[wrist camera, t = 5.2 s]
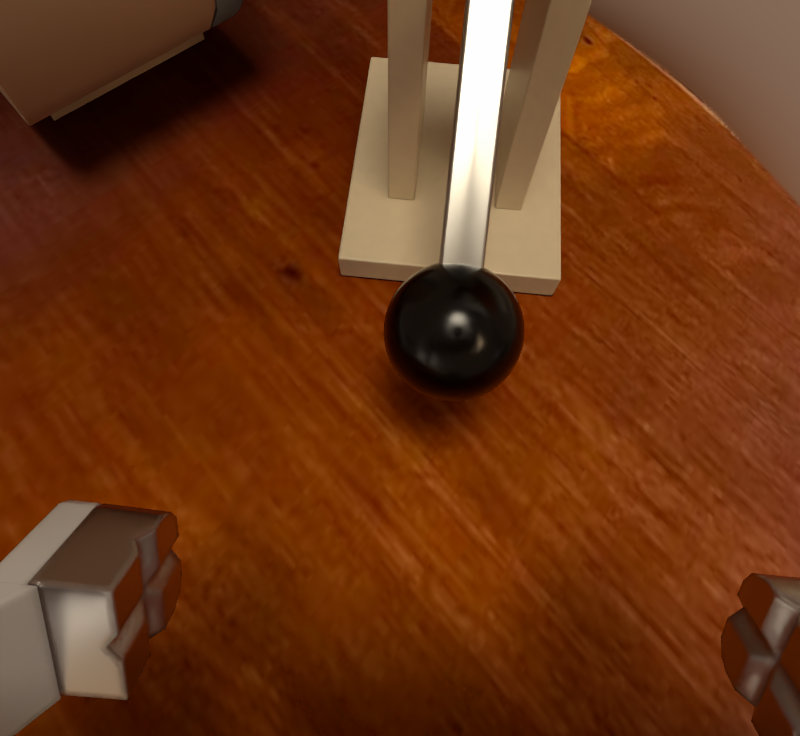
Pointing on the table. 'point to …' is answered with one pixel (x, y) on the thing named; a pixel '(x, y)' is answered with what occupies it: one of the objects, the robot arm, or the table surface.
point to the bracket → (430, 151)
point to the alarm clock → (92, 46)
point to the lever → (463, 241)
